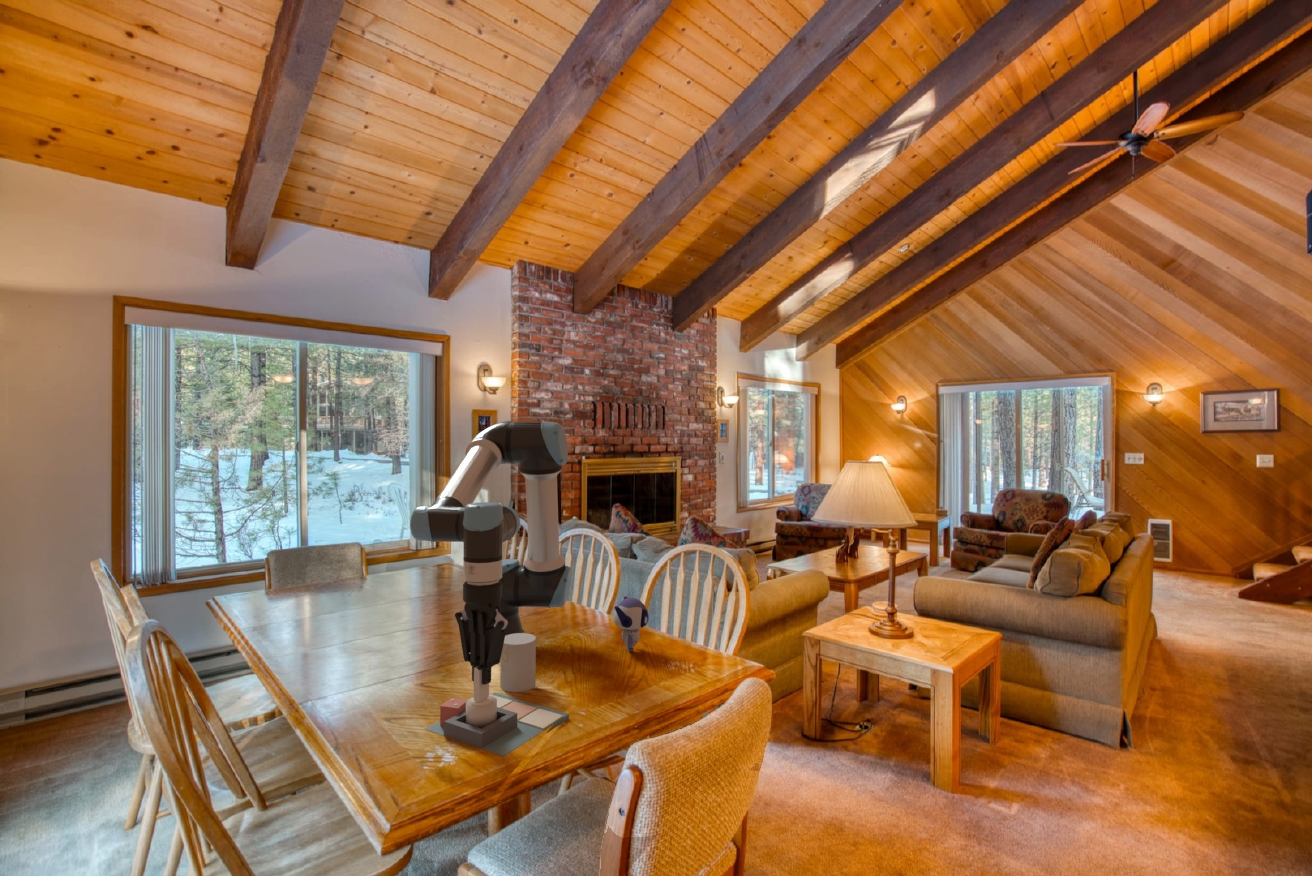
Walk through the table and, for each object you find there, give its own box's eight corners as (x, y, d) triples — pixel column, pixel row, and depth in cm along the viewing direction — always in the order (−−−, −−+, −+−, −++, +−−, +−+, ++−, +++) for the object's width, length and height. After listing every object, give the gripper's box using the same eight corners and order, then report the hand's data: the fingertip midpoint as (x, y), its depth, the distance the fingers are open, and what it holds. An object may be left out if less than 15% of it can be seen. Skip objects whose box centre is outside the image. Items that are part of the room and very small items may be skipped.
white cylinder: (503, 682, 150) (503, 633, 150) (537, 681, 151) (537, 632, 151) (497, 696, 142) (497, 644, 142) (533, 696, 143) (533, 644, 143)
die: (440, 725, 126) (440, 704, 126) (451, 716, 130) (451, 696, 130) (457, 728, 125) (457, 706, 125) (468, 719, 129) (468, 698, 129)
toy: (643, 660, 166) (644, 604, 166) (608, 656, 168) (608, 601, 168) (651, 646, 177) (652, 594, 176) (618, 643, 179) (619, 592, 178)
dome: (459, 724, 123) (459, 701, 123) (481, 712, 128) (481, 691, 128) (481, 731, 120) (481, 708, 120) (503, 719, 125) (503, 697, 125)
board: (424, 733, 125) (424, 714, 124) (495, 697, 142) (495, 680, 142) (503, 761, 114) (503, 741, 114) (568, 718, 132) (569, 700, 132)
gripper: (444, 580, 123) (443, 698, 123) (493, 589, 117) (492, 713, 117) (472, 573, 130) (471, 685, 130) (520, 581, 124) (519, 698, 124)
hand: (481, 698), depth 124 cm, fingers closed
